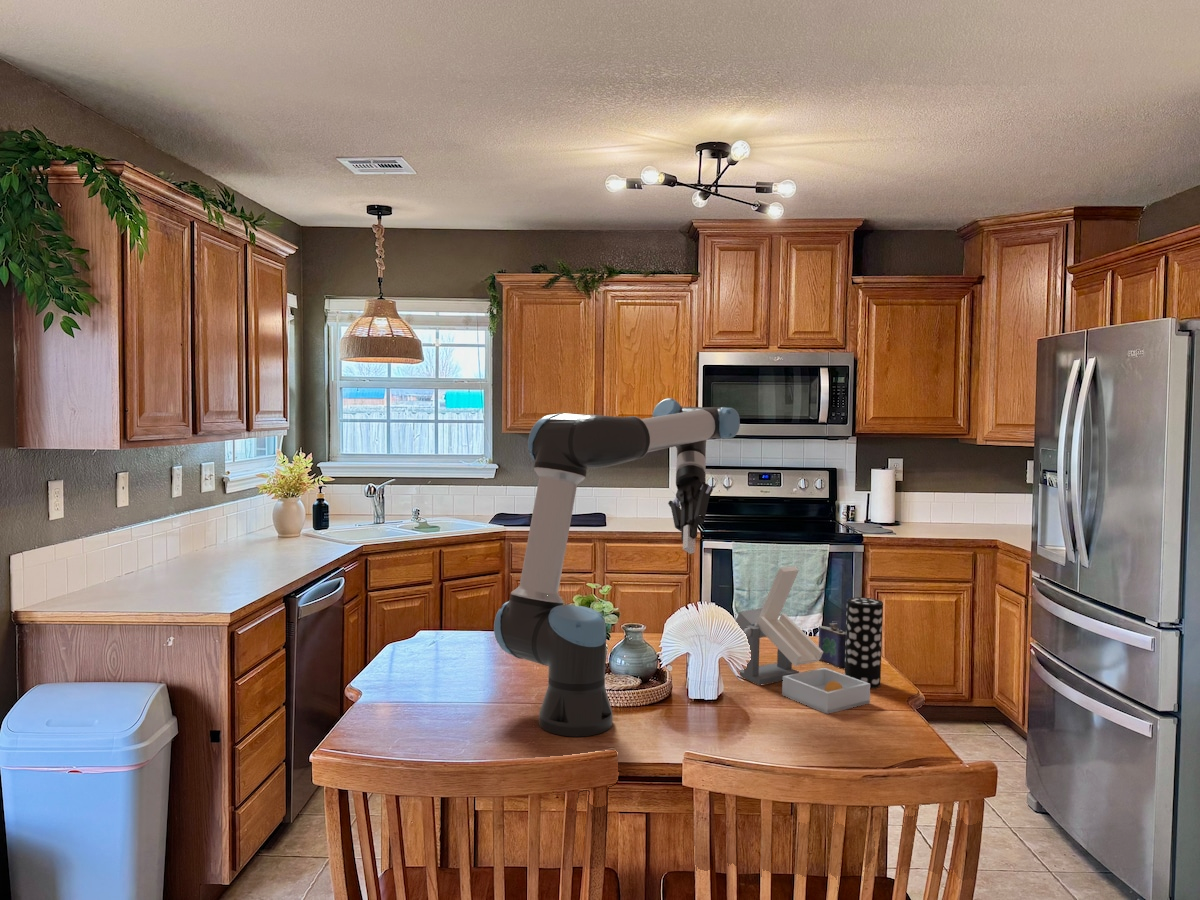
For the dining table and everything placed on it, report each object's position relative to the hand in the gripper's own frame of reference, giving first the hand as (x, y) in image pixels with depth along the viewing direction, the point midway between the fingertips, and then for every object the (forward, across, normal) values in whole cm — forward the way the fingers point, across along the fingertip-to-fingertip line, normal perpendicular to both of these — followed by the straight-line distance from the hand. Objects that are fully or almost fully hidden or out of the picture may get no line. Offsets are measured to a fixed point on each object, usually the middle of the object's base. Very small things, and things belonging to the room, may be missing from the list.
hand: (688, 550), depth 201 cm
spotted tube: (+20, -15, -47) cm, 53 cm away
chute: (+15, -1, -30) cm, 33 cm away
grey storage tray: (+29, -14, -32) cm, 45 cm away
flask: (+10, -4, -53) cm, 54 cm away
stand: (+19, +2, -33) cm, 38 cm away
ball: (+28, -17, -31) cm, 45 cm away
